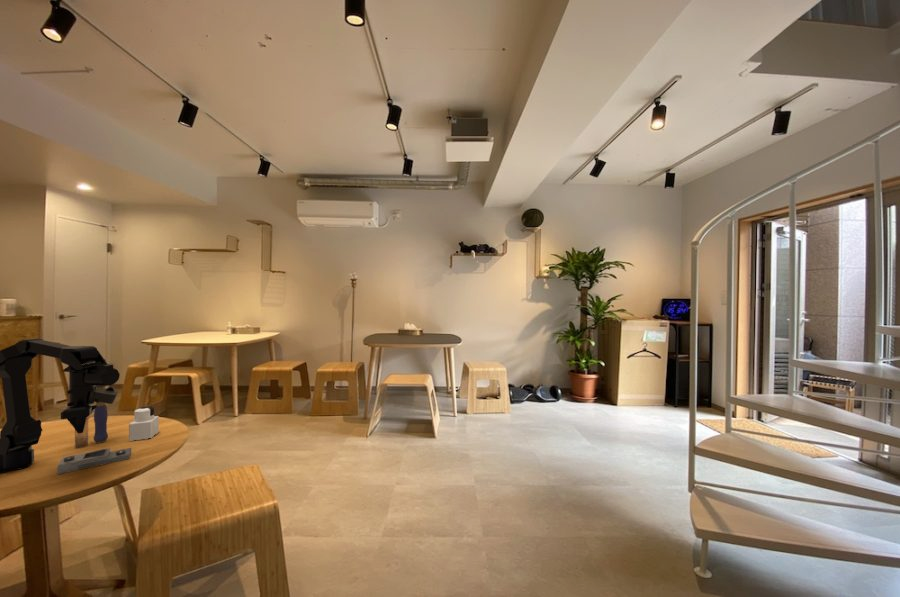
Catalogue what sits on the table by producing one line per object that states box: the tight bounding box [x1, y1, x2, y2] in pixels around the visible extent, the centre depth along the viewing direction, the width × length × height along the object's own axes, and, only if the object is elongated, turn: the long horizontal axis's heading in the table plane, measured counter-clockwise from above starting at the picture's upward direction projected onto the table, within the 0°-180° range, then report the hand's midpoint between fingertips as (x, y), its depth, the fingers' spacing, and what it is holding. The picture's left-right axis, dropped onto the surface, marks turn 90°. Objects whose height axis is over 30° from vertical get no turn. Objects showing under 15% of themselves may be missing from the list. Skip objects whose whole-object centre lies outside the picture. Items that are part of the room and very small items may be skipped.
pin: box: [74, 414, 91, 450], centre depth 113 cm, size 4×4×10 cm
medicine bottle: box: [128, 405, 160, 442], centre depth 139 cm, size 7×7×12 cm
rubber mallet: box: [93, 385, 109, 444], centre depth 134 cm, size 12×8×30 cm, turn 50°
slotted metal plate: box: [57, 447, 132, 475], centre depth 118 cm, size 17×7×4 cm, turn 130°
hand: (81, 431), depth 113 cm, fingers closed on pin, 3 cm apart
